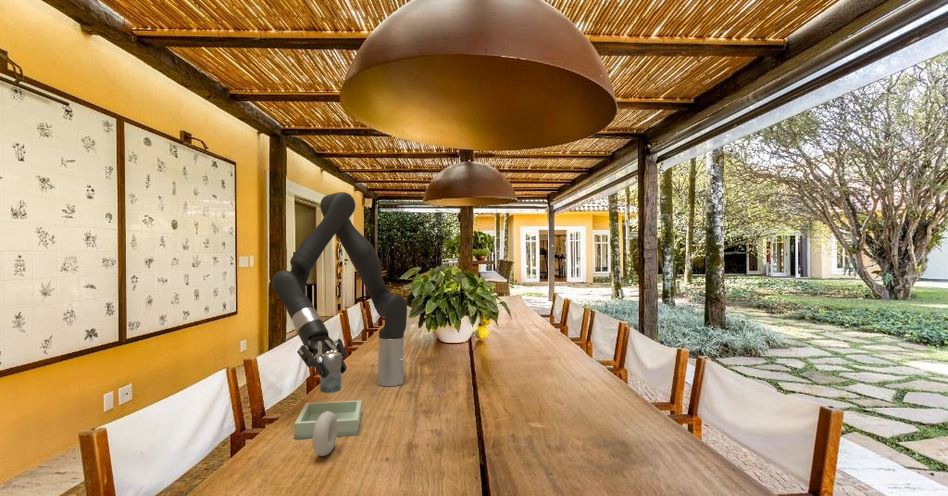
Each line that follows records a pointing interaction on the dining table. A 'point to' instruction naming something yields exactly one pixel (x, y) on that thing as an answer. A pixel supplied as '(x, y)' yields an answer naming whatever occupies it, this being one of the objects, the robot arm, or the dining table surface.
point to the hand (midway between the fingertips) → (335, 373)
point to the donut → (325, 433)
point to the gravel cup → (331, 371)
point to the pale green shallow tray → (343, 410)
